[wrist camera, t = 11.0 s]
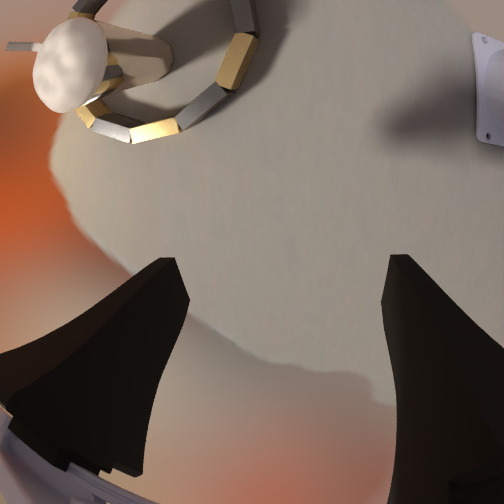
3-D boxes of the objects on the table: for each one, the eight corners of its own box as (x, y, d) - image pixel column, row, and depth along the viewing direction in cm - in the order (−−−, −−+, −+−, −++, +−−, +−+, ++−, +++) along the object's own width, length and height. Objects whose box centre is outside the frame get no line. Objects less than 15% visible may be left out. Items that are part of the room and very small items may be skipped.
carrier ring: (240, -65, 8) (233, -78, 6) (271, 115, 15) (267, 120, 14) (70, 5, 11) (53, 4, 9) (95, 151, 19) (80, 159, 17)
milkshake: (142, 14, 12) (27, 0, 4) (197, 51, 14) (89, 40, 6) (107, 65, 14) (-7, 88, 6) (156, 103, 16) (43, 143, 8)
